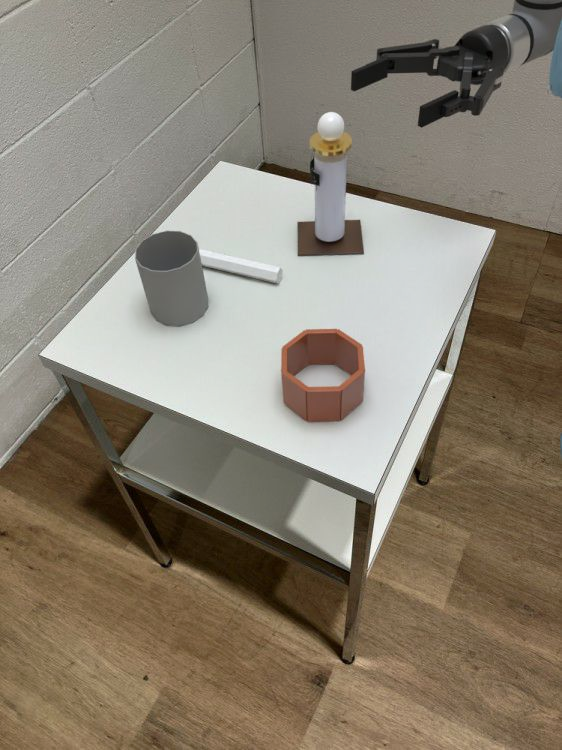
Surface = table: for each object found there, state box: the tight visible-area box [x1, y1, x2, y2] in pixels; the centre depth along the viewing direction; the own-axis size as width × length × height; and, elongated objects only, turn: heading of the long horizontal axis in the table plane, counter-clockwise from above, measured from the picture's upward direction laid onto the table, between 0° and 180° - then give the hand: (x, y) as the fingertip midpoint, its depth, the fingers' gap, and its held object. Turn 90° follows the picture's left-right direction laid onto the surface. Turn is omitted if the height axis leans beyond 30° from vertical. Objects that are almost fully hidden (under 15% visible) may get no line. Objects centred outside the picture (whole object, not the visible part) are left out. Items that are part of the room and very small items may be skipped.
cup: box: [134, 230, 209, 327], centre depth 87 cm, size 8×8×10 cm
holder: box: [280, 328, 366, 423], centre depth 78 cm, size 10×10×6 cm
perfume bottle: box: [309, 111, 353, 242], centre depth 91 cm, size 6×6×20 cm
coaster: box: [297, 219, 365, 257], centre depth 99 cm, size 10×8×1 cm
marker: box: [199, 248, 283, 285], centre depth 95 cm, size 3×2×16 cm
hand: (385, 98), depth 88 cm, fingers open, 13 cm apart
